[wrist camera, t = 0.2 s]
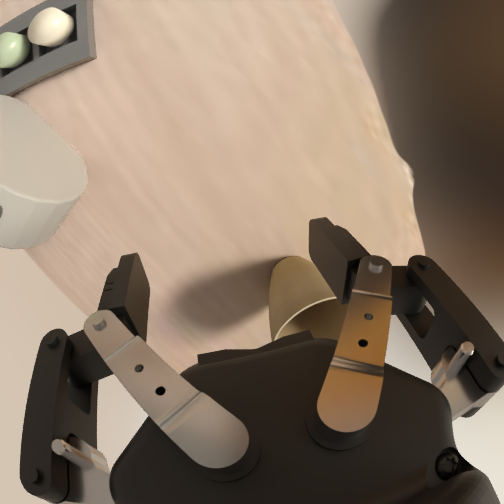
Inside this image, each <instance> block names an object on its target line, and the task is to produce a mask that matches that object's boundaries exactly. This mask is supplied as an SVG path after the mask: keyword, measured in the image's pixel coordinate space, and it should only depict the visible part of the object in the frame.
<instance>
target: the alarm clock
mask: <svg viewBox="0 0 504 504" xmlns="http://www.w3.org/2000/svg"><path fill="white" fill-rule="evenodd" d="M87 175H88V172H87V169H86V165H85V162H84V159H83V157H82V155H81V154H80V153H79V152H78V151H77V150H76V149H75V148H74V147H73V146H72V145H71V144H70V143H69V142H68V141H67V140H66V139H64V138H63V137H62V136H61V135H60V134H59V133H58V132H57V131H56V130H55V129H54V128H53V127H52V126H51V125H50V124H49V123H48V122H47V121H46V120H45V119H44V118H43V117H42V116H41V115H40V114H39V113H37V112H36V111H35V110H34V109H33V108H32V107H31V106H30V105H29V104H27V103H25V102H23V101H21V100H18V99H16V98H13V97H10V96H6V95H0V247H3V248H9V249H23V248H32V247H34V246H37V245H39V244H42V243H44V242H46V241H47V240H48V239H49V238H50V237H51V236H53V235H54V234H55V233H56V231H57V230H58V228H59V227H60V225H61V223H62V222H63V221H64V219H65V218H66V216H67V215H68V213H69V212H70V210H71V209H72V208H73V206H74V205H75V203H76V202H77V201H78V199H79V198H80V197H81V195H82V194H83V192H84V190H85V188H86V186H87Z"/></svg>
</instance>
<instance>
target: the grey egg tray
mask: <svg viewBox="0 0 504 504" xmlns="http://www.w3.org/2000/svg"><path fill="white" fill-rule="evenodd" d="M50 7H54V8H57V9H59V10H61V11H63V12H64V13H66V14H68V15H70V16H71V17H72V18H73V19H74V30H73V32H72V34H71V36H70V37H69V38H68V39H67V41H65V42H64V43H63V44H61V45H59V46H57V47H48V46H43V45H38V44H34V43H32V42H31V49H30V52H29V55H28V57H27V58H26V60H25V61H24V62H23V63H22V64H21V65H19V66H18V67H15V68H0V95H6V96H10V97H11V96H13V95H14V94H16V93H18V92H20V91H22V90H24V89H26V88H27V87H29V86H31V85H33V84H35V83H37V82H39V81H42V80H44V79H46V78H48V77H50V76H52V75H55V74H57V73H59V72H62V71H64V70H66V69H69V68H71V67H74V66H76V65H79V64H82V63H84V62H87V61H90V60H93V59H96V58H97V56H96V46H95V34H94V19H93V0H47V1H45V2H43V3H41V4H39V5H37V6H35V7H33V8H31V9H30V10H28V11H26V12H24V13H22V14H21V15H19V16H17V17H16V18H14V19H12V20H11V21H9V22H8V23H6V24H4V25H3V26H1V27H0V35H1V34H2V33H5V32H12V33H17V34H22V35H26V36H28V28H29V25H30V23H31V21H32V20H33V18H34V17H35V16H36V15H37V14H38V13H39V12H41V11H42V10H44V9H46V8H50Z"/></svg>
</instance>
